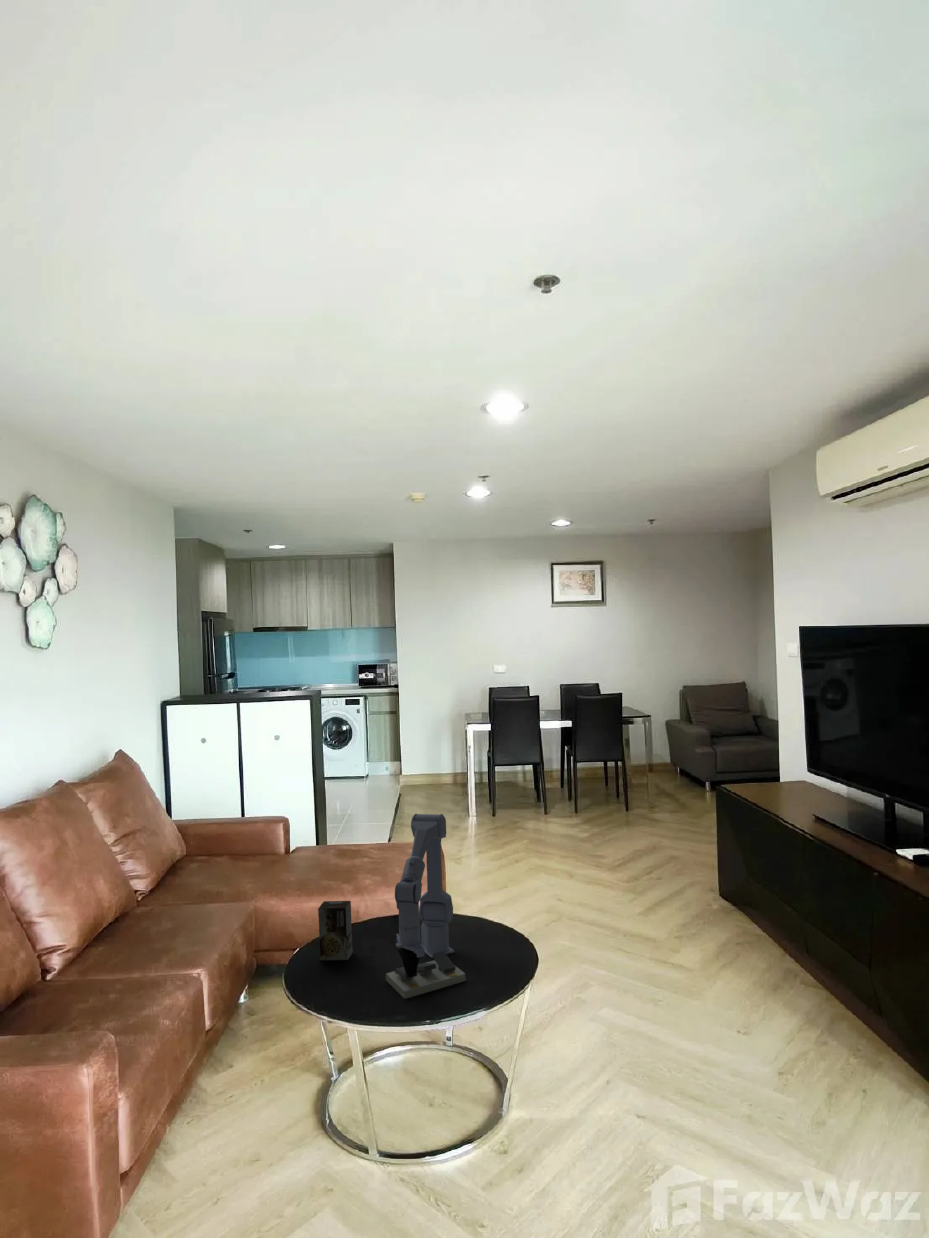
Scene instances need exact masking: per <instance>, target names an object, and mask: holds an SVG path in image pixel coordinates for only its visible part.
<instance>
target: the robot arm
mask: <svg viewBox="0 0 929 1238" xmlns="http://www.w3.org/2000/svg"><path fill="white" fill-rule="evenodd" d="M410 828H411V832H412V837H413V844H412V850H411V853H410V854H411V855H410V857H408V858H407V859H406V860H405V864H404V868H403V871H402V875H401V879H400V881H399V882H397V883H396V885H395V889H394V900H395V903H396V909H397V910H398V931H399V933H396V934H395V936H396V937H395V939H396V940H395V941H396V943H395V947H396V948H397V952H398V954H399V955H400V956H399V957H400V958H401V960H402V964H403V967H404V968H405V972H406V974H407V975H408V977H413V976H416V971H417V966H418V964H419V961H420V959H421V958H422V957H425V955H427V956H428V957H430V958H431V959H433V954H435V953H439V952H442V951H444V952H445V954H446V955H448V954H453V953H455V950H454V949H453V948H452V947H450V939H449V938H450V937H449V936H450V935H449V923H451V921H452V919H453V915H454V905H453V898H452V896H451V895H450V894H449V893H448V892H447V891H445V890H444V888H443V865H442V863H443V862H442V861H443V860H442V839H445V838H446V837H447V819H446V817H445V816H444V814H442V813H440V814H438V813H435V814H432V813H431V814H429V813H428V814H427V813H414V814H413V816H412V817H411V821H410ZM425 856H426V863H425V862H424V858H425ZM425 868H426V886H427V887H426V888H427V891H425V892H424V893H423V894H422V888H423V883H422V879H423V875H424V872H425ZM420 920H421V921H422V923H421V925H420ZM420 933H421V934H420Z"/></svg>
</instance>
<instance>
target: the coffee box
mask: <svg viewBox="0 0 929 1238" xmlns="http://www.w3.org/2000/svg"><path fill="white" fill-rule="evenodd" d="M351 903H352V902H351V900H327V901H323V902H322V903H321V904H320V906H319V907H318V908H317V911H318V912H317V916H318V935H319V938H318V939H319V961H348V960H349V959H350V957H352V955H353V953H354V952H353V951H354V950H353V930H352V928H353V927H352V904H351Z"/></svg>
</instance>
